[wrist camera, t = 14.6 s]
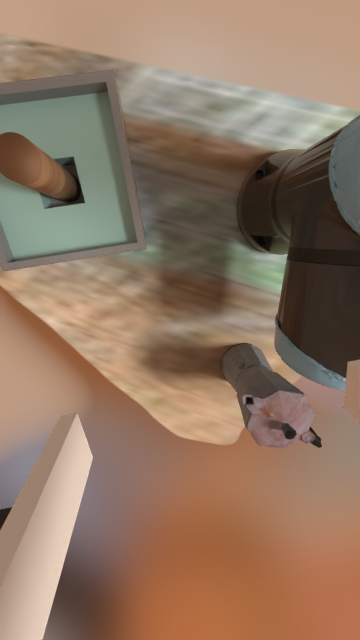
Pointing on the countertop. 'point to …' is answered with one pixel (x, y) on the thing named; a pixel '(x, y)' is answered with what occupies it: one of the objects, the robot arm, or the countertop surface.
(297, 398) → the moka pot
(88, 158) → the bore box
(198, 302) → the countertop surface
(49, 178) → the walnut peg
